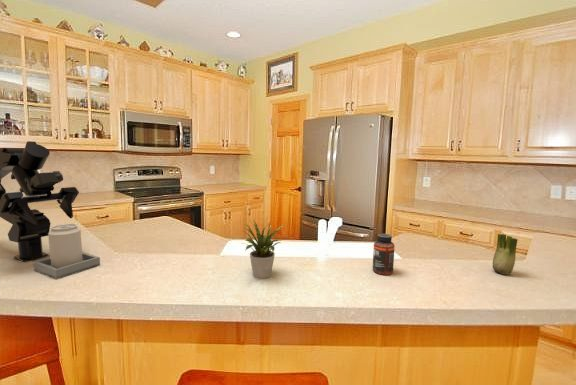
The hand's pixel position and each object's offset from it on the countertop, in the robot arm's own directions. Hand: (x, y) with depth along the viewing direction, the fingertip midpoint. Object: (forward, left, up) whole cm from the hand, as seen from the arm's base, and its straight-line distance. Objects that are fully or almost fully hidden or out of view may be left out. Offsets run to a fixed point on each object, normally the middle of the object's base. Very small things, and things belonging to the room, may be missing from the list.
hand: (55, 220), depth 89 cm
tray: (+5, 0, -14) cm, 14 cm away
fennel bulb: (+118, +63, -14) cm, 134 cm away
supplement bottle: (+86, +45, -14) cm, 98 cm away
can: (+4, 0, -13) cm, 14 cm away
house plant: (+55, +24, -14) cm, 61 cm away
